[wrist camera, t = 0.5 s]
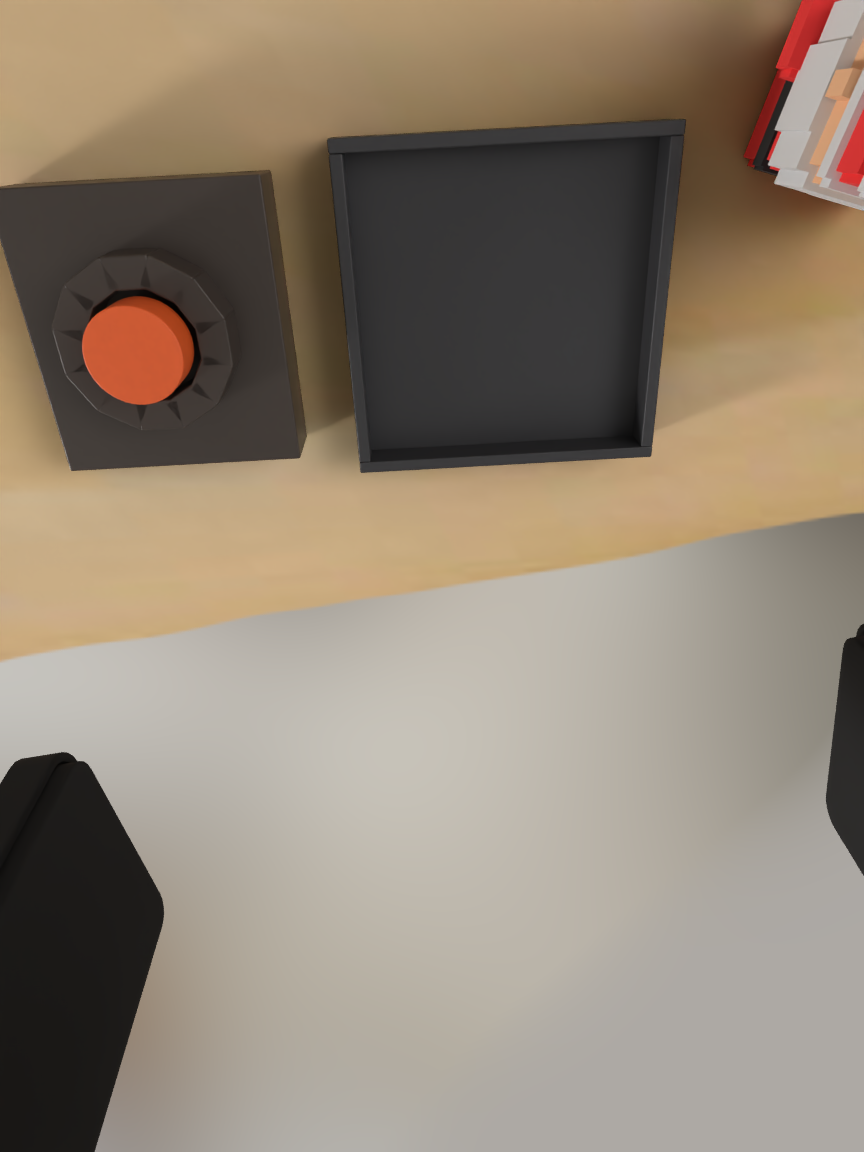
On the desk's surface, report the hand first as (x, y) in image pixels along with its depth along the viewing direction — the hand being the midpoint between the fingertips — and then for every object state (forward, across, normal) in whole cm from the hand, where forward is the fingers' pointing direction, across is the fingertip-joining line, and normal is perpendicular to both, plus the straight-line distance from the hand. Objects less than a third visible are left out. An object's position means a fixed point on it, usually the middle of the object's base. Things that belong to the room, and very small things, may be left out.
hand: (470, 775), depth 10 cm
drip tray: (+27, -3, 0) cm, 27 cm away
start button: (+23, +10, -2) cm, 26 cm away
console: (+27, +10, -2) cm, 29 cm away
